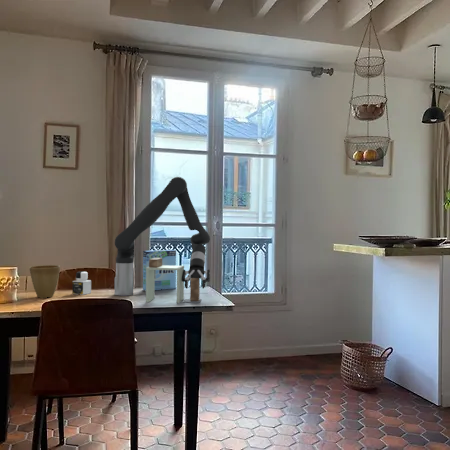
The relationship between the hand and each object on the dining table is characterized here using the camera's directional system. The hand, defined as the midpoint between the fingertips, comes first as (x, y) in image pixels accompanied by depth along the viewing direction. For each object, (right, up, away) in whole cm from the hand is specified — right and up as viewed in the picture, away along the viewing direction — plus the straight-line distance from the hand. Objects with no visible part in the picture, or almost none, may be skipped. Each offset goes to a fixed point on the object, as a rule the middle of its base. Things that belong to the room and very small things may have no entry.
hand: (194, 287), depth 227 cm
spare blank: (-20, +10, +5) cm, 23 cm away
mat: (-1, -7, +2) cm, 8 cm away
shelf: (-15, -7, +4) cm, 17 cm away
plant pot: (-79, -7, +11) cm, 80 cm away
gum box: (-24, -7, +42) cm, 49 cm away
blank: (0, -7, +2) cm, 7 cm away
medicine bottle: (-63, -7, +24) cm, 68 cm away
